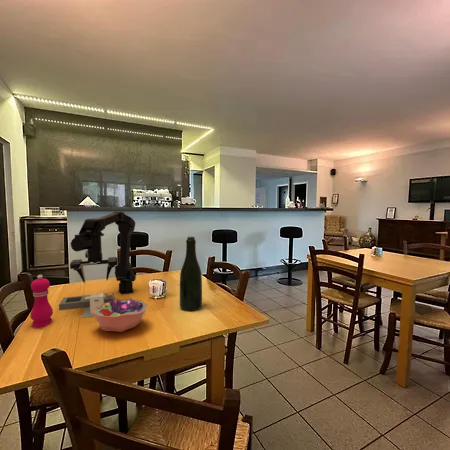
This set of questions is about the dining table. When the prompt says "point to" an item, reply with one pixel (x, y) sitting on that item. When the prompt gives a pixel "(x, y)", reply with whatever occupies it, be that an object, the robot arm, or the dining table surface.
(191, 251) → the dark green wine bottle
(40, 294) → the pepper mill
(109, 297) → the power strip
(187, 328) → the dining table surface
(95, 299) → the block
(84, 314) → the mat
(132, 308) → the cell model
